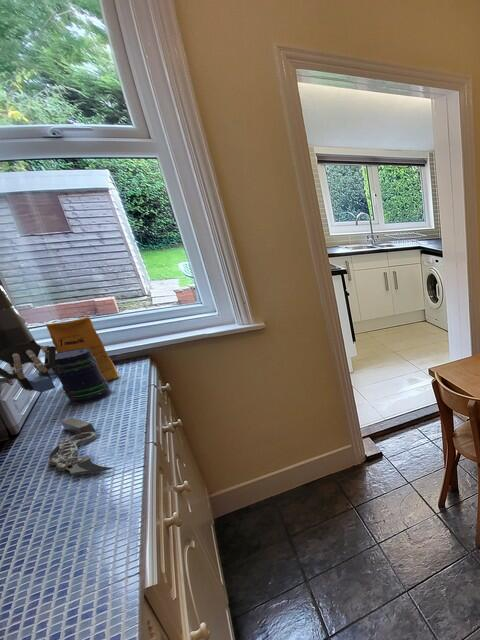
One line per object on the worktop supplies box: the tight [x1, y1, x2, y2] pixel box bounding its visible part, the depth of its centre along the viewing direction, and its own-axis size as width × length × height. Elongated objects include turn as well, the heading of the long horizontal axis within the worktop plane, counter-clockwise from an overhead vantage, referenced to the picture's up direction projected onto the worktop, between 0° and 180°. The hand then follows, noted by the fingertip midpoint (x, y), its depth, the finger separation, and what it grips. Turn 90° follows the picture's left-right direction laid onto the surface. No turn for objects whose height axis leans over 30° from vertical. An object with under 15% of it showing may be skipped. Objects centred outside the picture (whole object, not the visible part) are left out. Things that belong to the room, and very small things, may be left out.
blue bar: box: [24, 372, 57, 393], centre depth 111 cm, size 10×3×3 cm, turn 66°
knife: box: [47, 432, 114, 475], centre depth 99 cm, size 28×2×10 cm
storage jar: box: [51, 348, 112, 405], centre depth 129 cm, size 10×10×15 cm
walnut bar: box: [60, 417, 96, 434], centre depth 111 cm, size 10×2×2 cm, turn 66°
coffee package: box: [45, 316, 119, 383], centre depth 140 cm, size 10×12×22 cm
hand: (39, 387), depth 111 cm, fingers closed on blue bar, 3 cm apart
